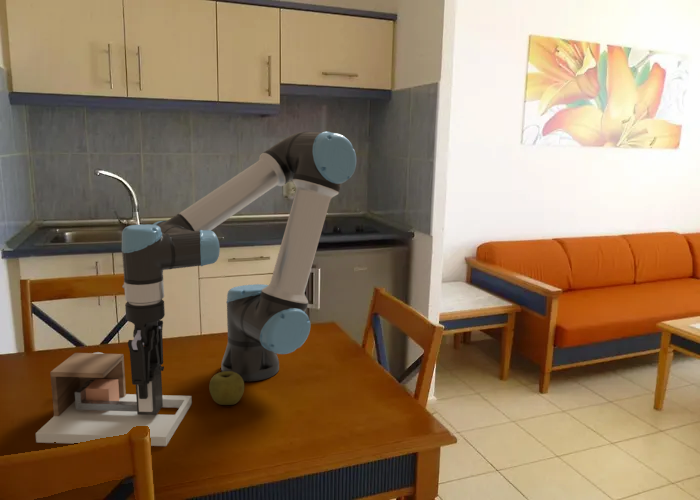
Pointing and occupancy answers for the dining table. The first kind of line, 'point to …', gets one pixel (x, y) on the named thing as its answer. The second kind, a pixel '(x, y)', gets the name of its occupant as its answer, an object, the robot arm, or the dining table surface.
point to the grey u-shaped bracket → (124, 405)
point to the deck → (113, 423)
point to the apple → (226, 388)
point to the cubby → (84, 376)
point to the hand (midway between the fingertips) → (150, 405)
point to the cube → (103, 390)
